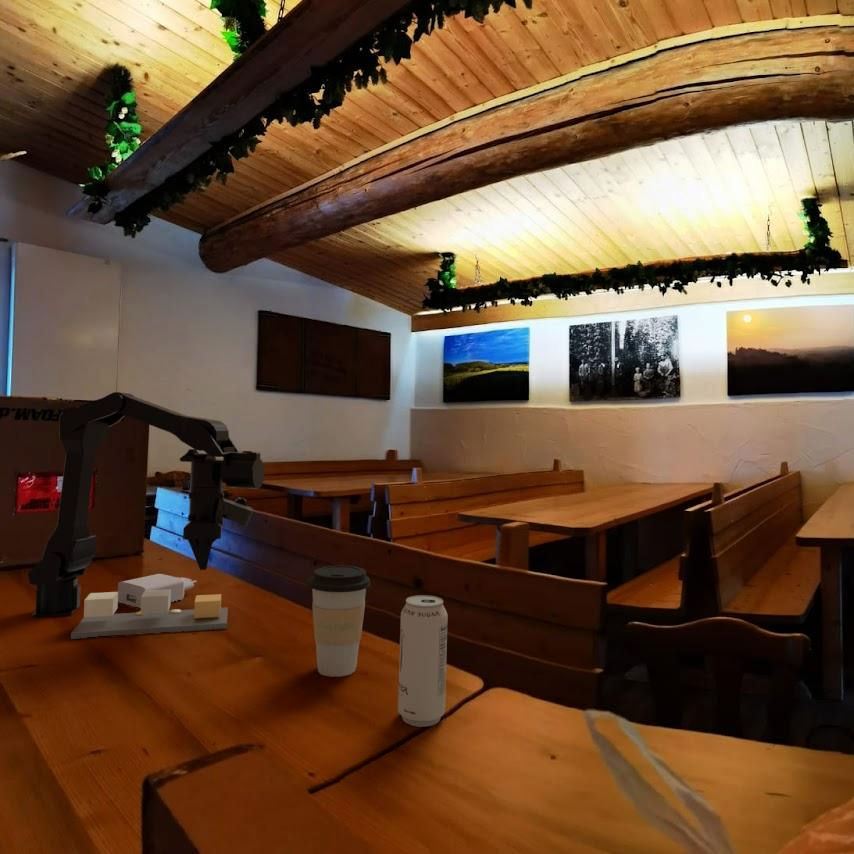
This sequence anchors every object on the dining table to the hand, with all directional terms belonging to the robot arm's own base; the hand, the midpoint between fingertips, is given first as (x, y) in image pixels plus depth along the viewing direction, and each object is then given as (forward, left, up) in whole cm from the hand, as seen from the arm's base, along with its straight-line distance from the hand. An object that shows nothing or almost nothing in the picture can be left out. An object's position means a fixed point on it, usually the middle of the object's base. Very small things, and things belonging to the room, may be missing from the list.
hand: (203, 569), depth 112 cm
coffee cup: (+21, -28, -10) cm, 37 cm away
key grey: (-8, 0, -7) cm, 11 cm away
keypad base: (-8, 0, -10) cm, 13 cm away
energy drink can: (+29, -46, -10) cm, 55 cm away
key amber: (+1, 0, -8) cm, 8 cm away
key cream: (-17, 0, -7) cm, 18 cm away
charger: (-9, +18, -10) cm, 22 cm away
